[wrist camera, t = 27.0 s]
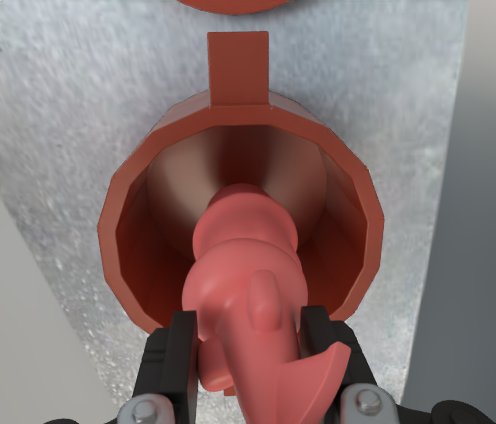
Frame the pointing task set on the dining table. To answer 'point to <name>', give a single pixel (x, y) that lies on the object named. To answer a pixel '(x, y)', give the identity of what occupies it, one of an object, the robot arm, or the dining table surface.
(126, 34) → the dining table surface
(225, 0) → the lid
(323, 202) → the pan
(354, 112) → the dining table surface
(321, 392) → the figurine
